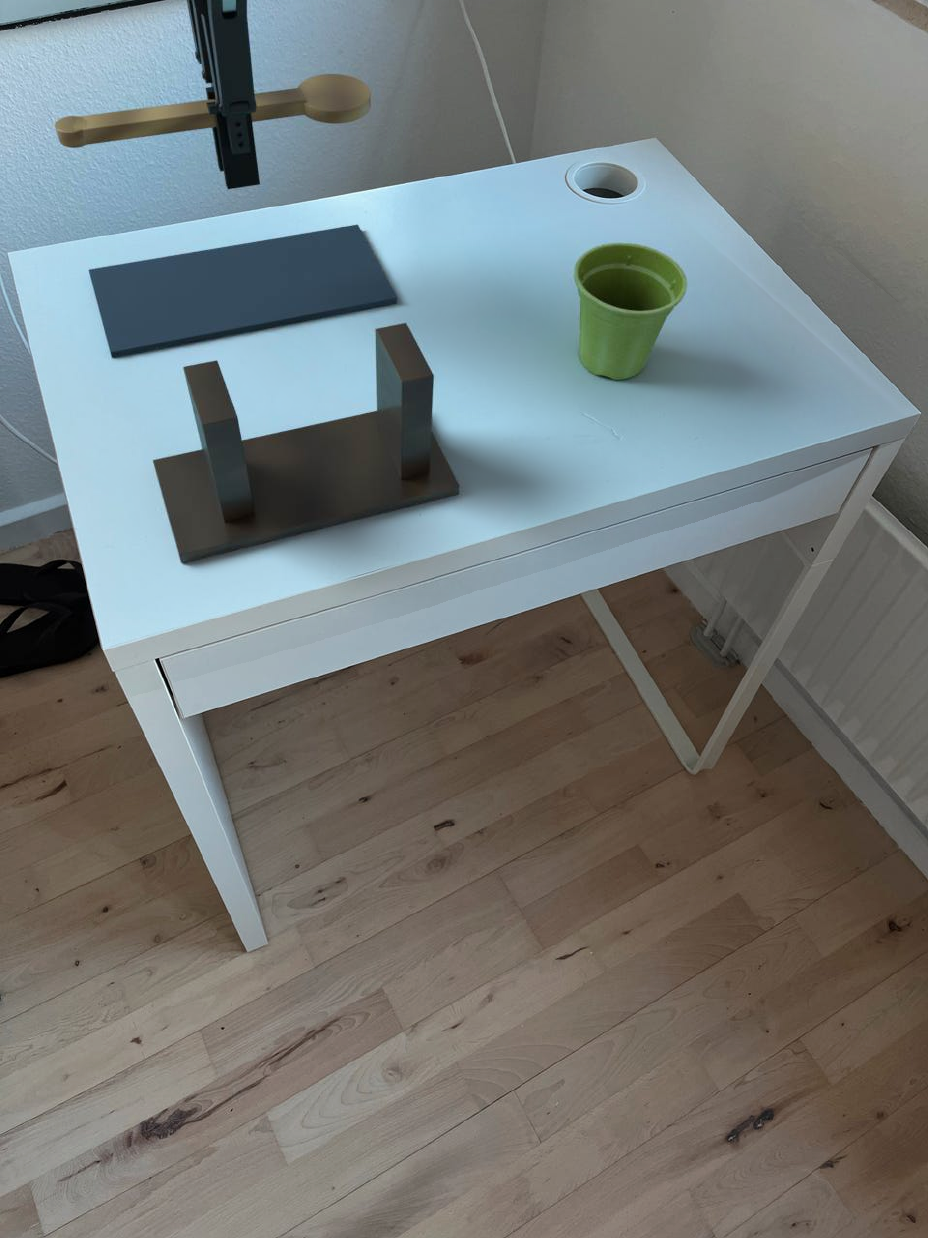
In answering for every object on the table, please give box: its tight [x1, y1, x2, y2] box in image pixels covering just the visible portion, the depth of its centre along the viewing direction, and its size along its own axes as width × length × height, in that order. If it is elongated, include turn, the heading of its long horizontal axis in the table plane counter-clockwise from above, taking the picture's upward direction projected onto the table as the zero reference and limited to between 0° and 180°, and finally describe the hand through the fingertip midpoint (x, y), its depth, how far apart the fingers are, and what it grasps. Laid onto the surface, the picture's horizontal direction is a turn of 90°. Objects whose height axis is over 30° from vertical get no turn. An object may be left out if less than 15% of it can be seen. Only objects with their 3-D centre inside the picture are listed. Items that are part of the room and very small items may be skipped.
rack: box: [152, 322, 461, 564], centre depth 70 cm, size 22×10×11 cm, turn 111°
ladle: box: [54, 73, 372, 149], centre depth 74 cm, size 25×6×1 cm, turn 111°
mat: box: [88, 224, 398, 358], centre depth 87 cm, size 26×12×1 cm, turn 111°
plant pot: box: [573, 242, 688, 381], centre depth 81 cm, size 9×9×9 cm
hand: (239, 174), depth 79 cm, fingers closed on ladle, 2 cm apart
